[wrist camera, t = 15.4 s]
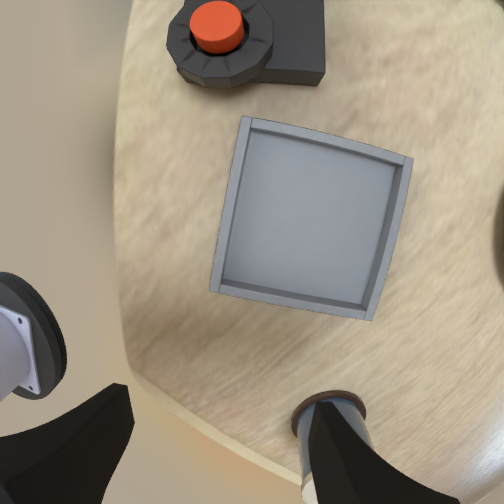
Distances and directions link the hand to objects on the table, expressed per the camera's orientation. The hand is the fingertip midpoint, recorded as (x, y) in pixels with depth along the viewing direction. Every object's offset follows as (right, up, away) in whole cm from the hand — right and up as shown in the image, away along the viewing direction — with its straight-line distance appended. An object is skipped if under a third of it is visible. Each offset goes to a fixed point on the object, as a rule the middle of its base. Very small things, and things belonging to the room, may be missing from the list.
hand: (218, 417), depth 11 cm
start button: (0, +17, +2) cm, 17 cm away
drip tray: (+5, +8, +8) cm, 13 cm away
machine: (+2, +25, +5) cm, 26 cm away
